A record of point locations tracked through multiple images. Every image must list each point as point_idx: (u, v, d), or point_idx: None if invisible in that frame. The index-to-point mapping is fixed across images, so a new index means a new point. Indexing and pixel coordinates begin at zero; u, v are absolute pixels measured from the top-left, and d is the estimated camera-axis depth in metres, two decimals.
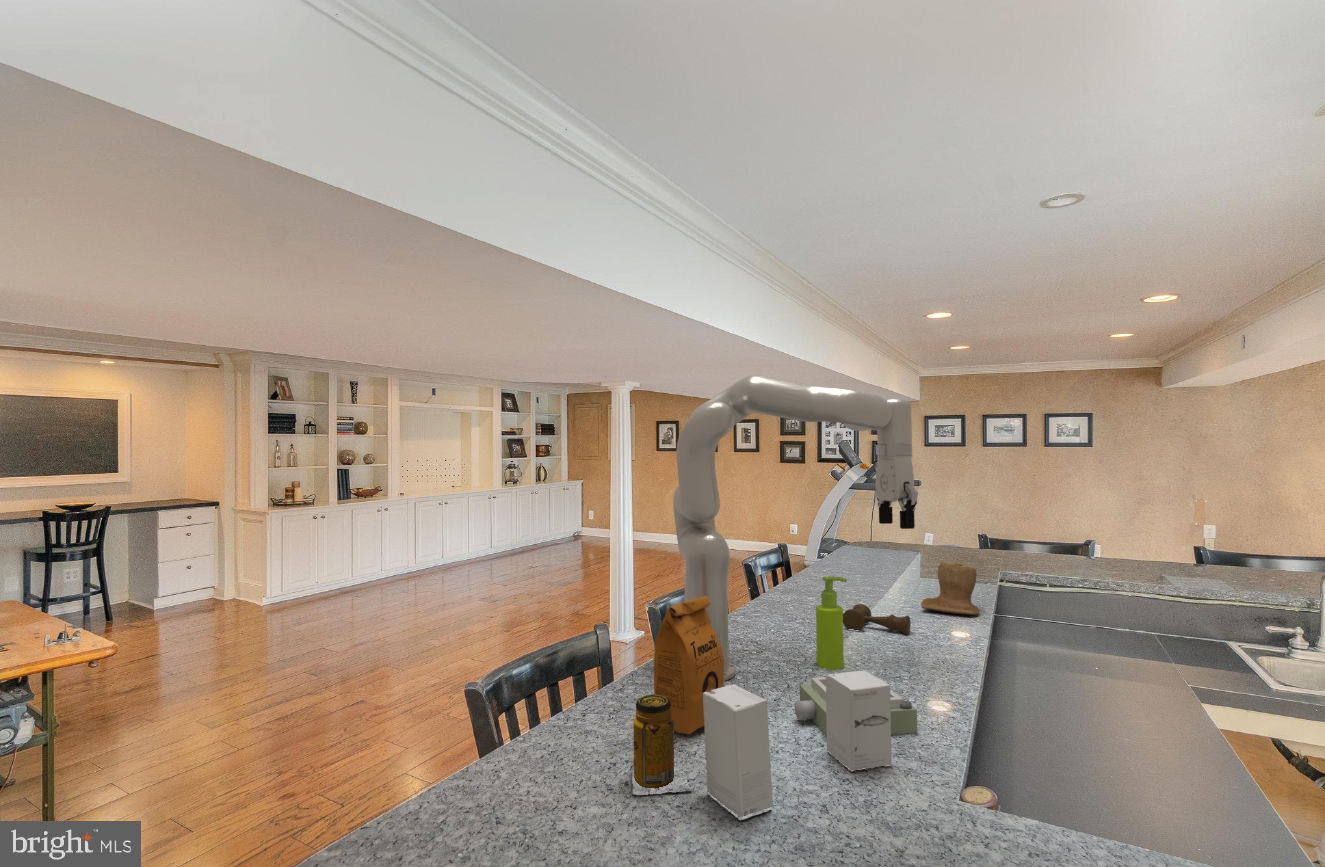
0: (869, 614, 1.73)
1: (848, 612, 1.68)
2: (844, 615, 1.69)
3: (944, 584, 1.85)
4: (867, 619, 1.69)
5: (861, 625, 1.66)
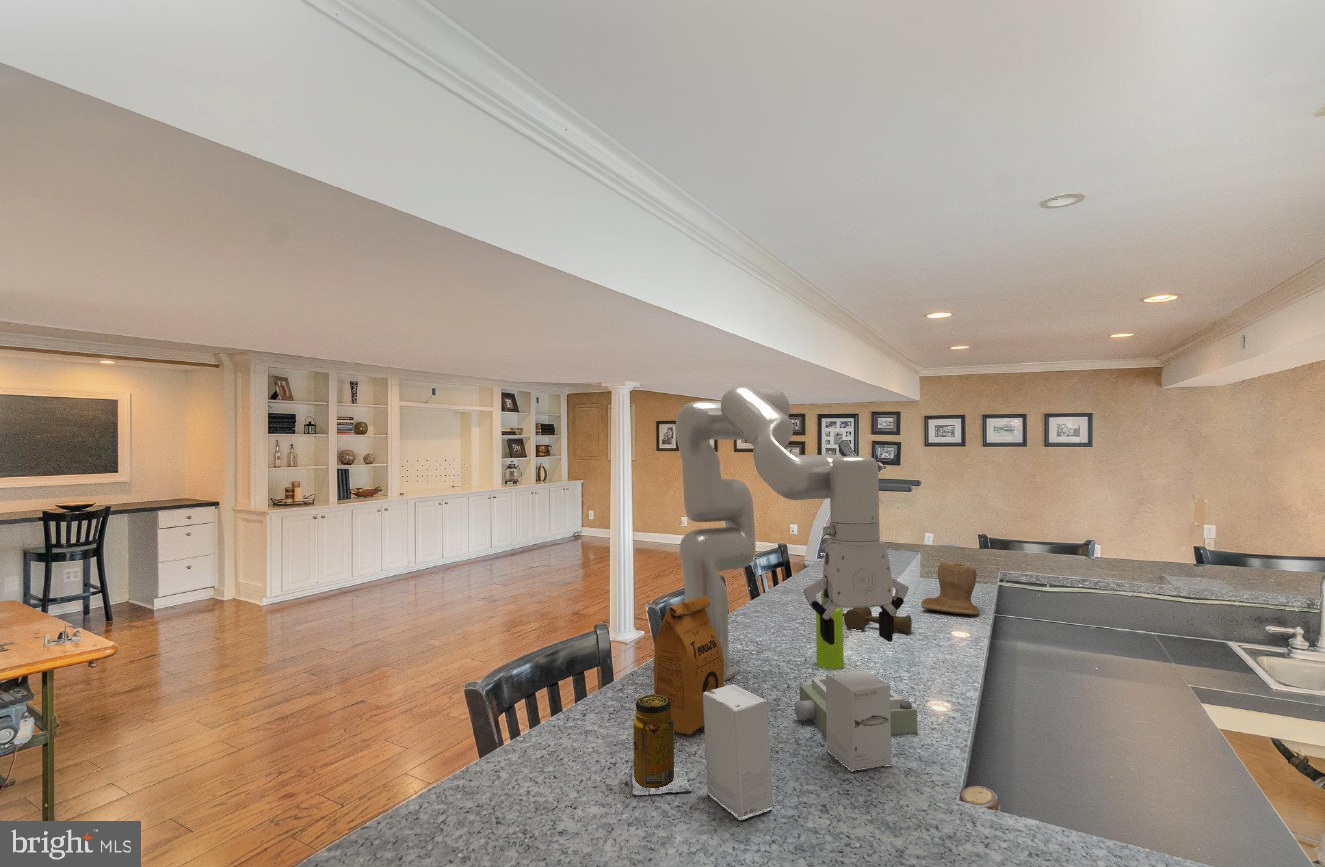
0: (870, 614, 1.73)
1: (850, 612, 1.68)
2: (846, 615, 1.69)
3: (944, 584, 1.85)
4: (868, 619, 1.69)
5: (863, 625, 1.66)
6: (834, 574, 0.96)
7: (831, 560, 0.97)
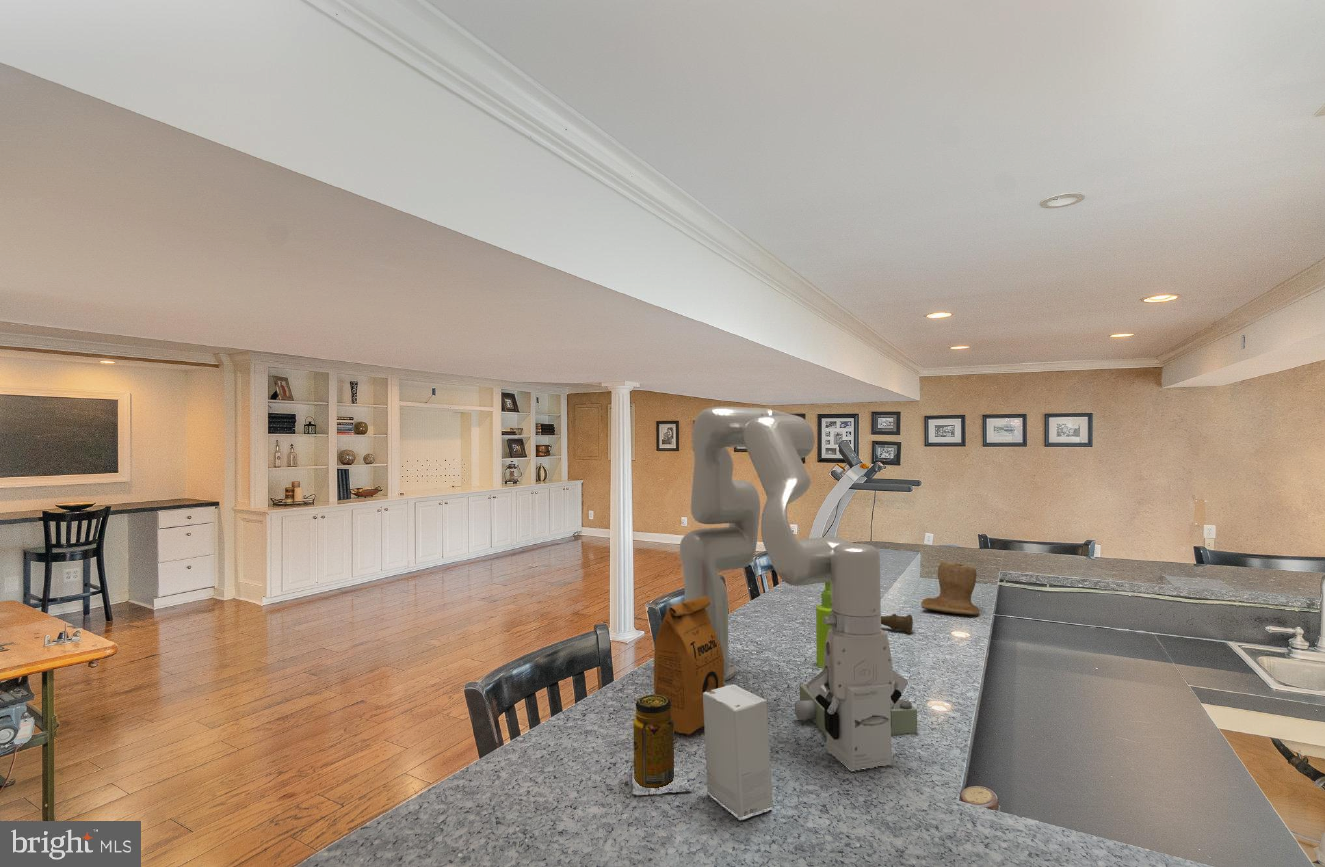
0: None
1: None
2: None
3: (944, 584, 1.85)
4: None
5: None
6: (835, 667, 0.96)
7: (832, 652, 0.96)
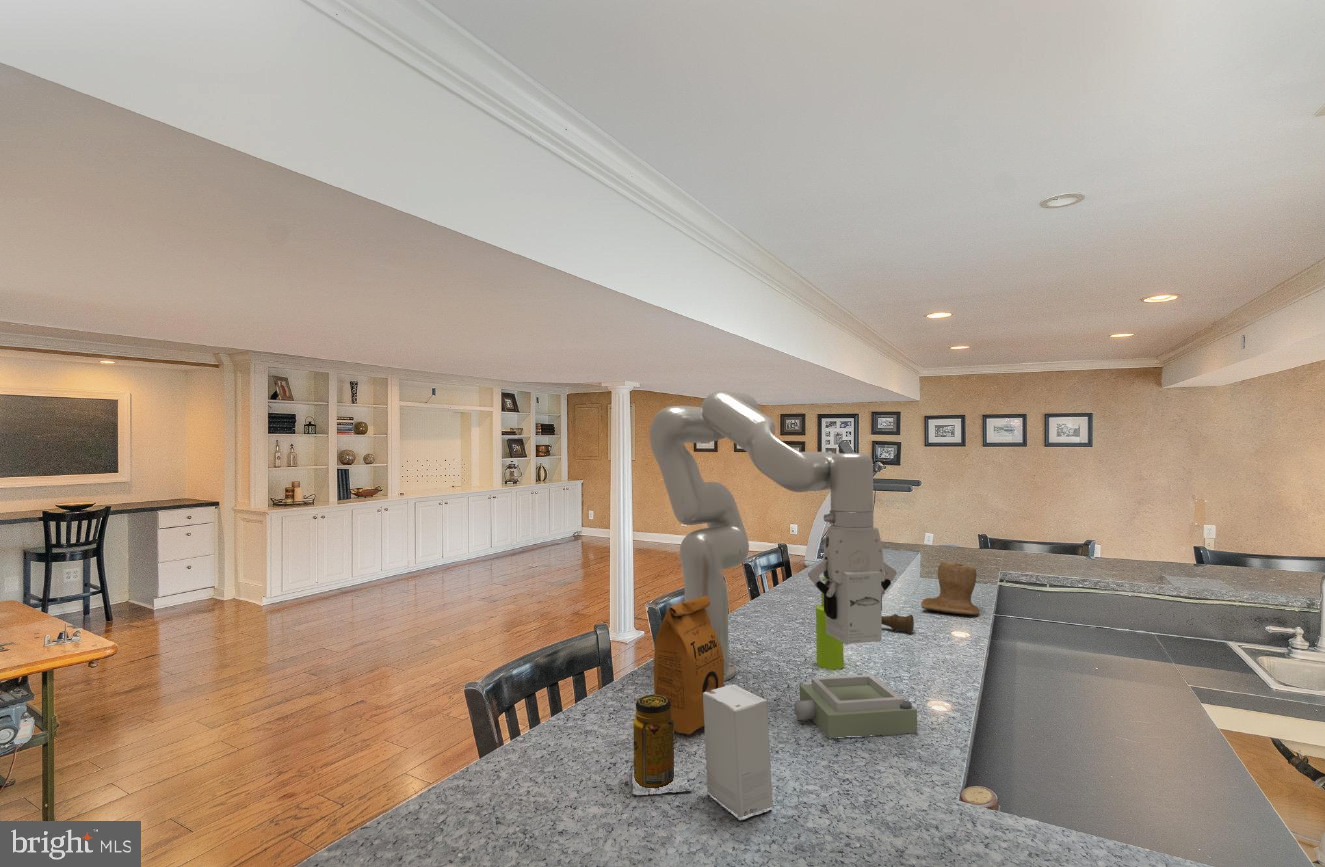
0: None
1: None
2: None
3: (944, 584, 1.85)
4: None
5: None
6: (833, 555, 1.11)
7: (831, 543, 1.11)
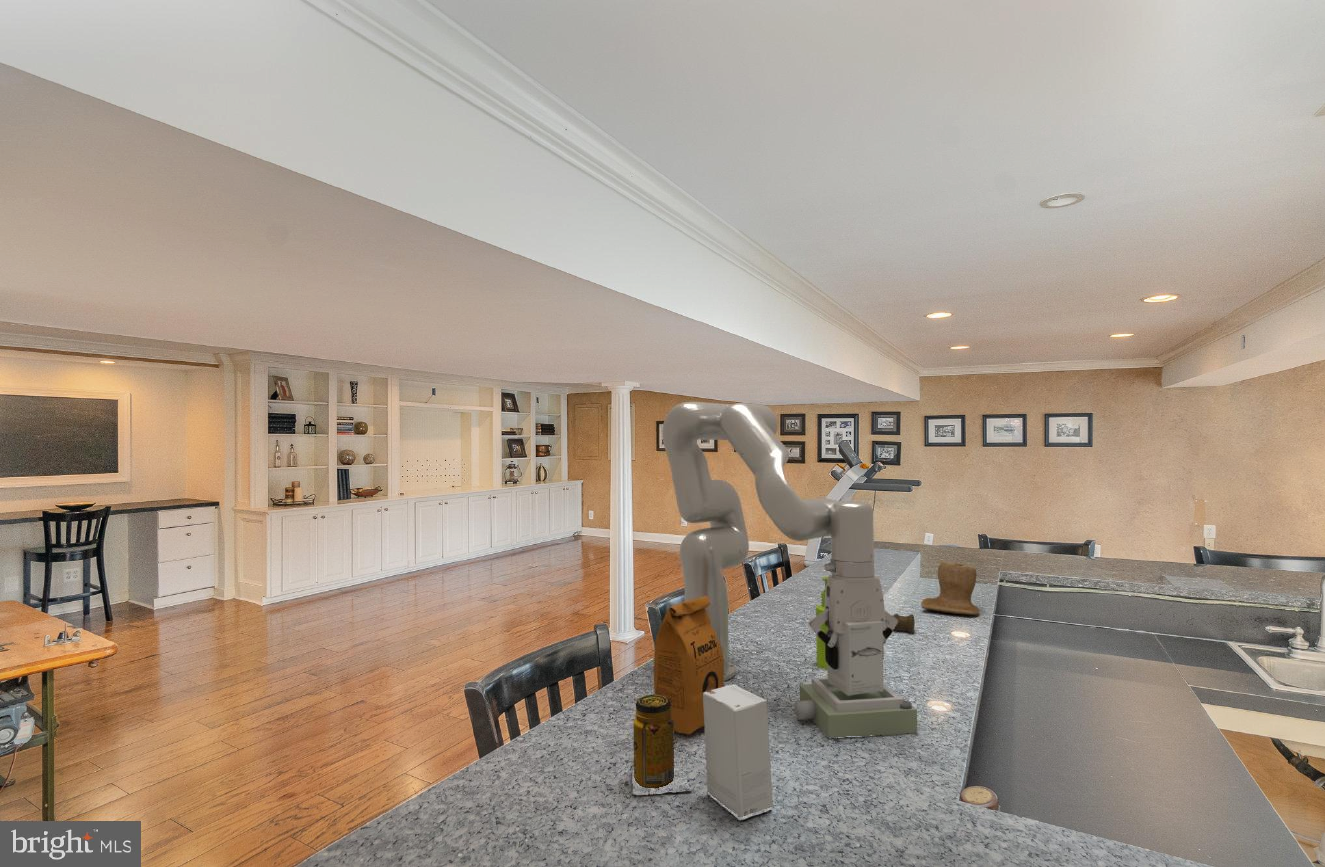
0: None
1: None
2: None
3: (944, 584, 1.85)
4: None
5: None
6: (834, 606, 1.10)
7: (832, 593, 1.11)
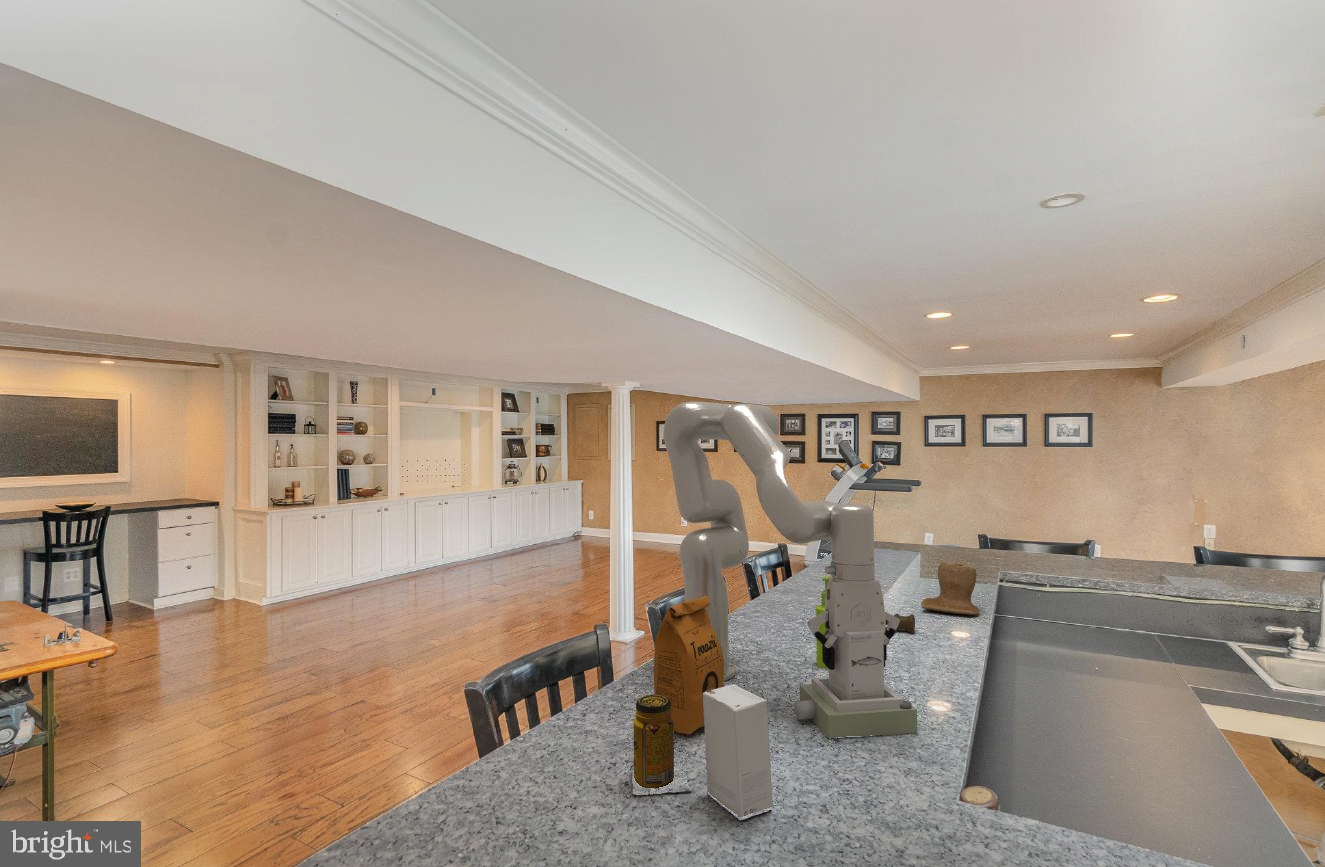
0: None
1: None
2: None
3: (944, 584, 1.85)
4: None
5: None
6: (834, 609, 1.10)
7: (832, 596, 1.11)
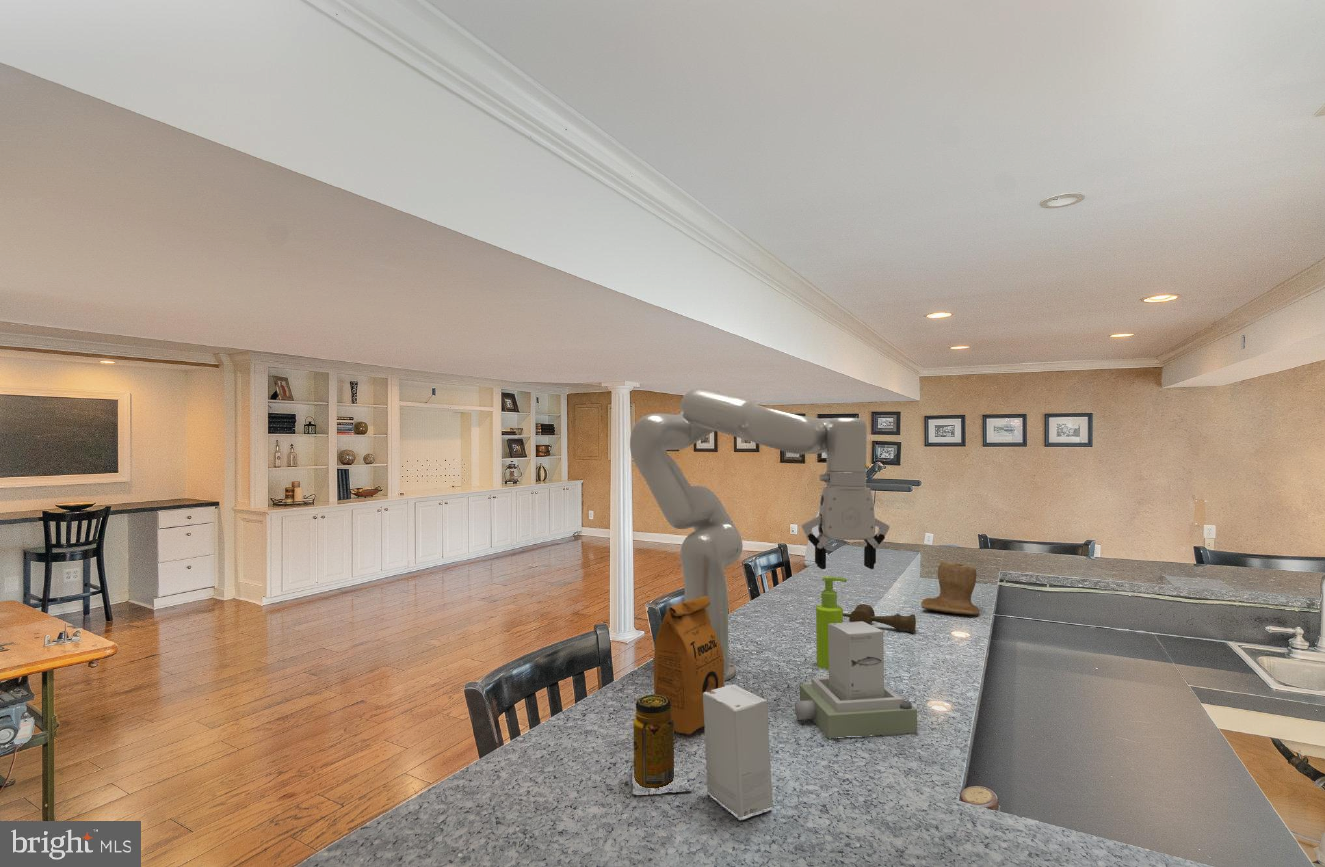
0: (873, 614, 1.73)
1: (855, 612, 1.68)
2: (851, 616, 1.68)
3: (944, 584, 1.85)
4: (873, 619, 1.69)
5: None
6: (827, 512, 1.19)
7: (825, 501, 1.20)
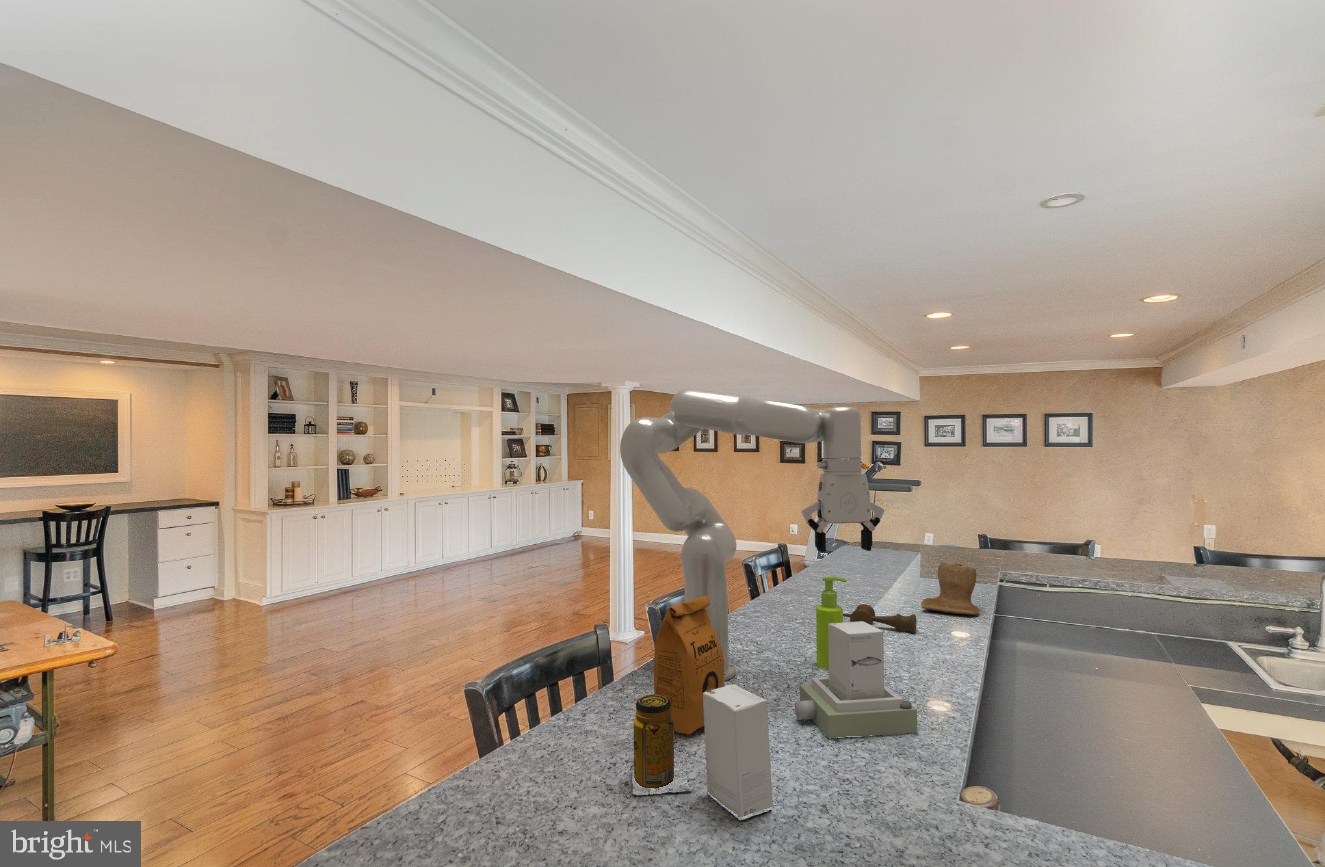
0: (873, 614, 1.73)
1: (856, 613, 1.68)
2: (851, 616, 1.68)
3: (944, 584, 1.85)
4: (873, 619, 1.69)
5: None
6: (825, 497, 1.24)
7: (823, 487, 1.25)
